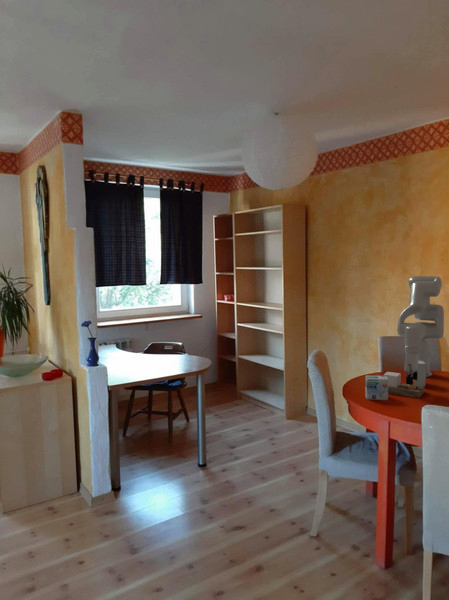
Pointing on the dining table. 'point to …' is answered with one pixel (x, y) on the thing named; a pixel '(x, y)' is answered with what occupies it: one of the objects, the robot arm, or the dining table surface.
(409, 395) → the board
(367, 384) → the light bulb box
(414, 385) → the tan rounded egg shape
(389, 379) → the cover
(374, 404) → the dining table surface
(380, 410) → the dining table surface
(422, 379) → the supplement box
